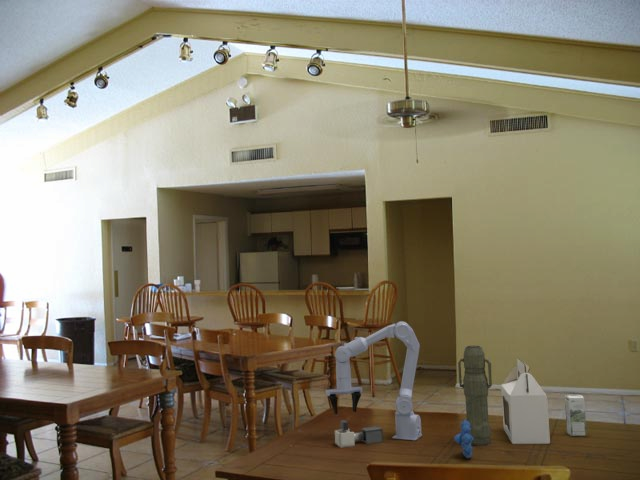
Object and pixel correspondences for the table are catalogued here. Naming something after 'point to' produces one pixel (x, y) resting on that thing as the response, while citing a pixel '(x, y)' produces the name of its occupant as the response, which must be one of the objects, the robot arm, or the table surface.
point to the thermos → (476, 393)
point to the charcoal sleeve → (372, 434)
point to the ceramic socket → (344, 438)
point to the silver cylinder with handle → (345, 427)
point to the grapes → (465, 438)
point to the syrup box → (575, 415)
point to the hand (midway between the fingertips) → (345, 412)
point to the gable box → (524, 407)
